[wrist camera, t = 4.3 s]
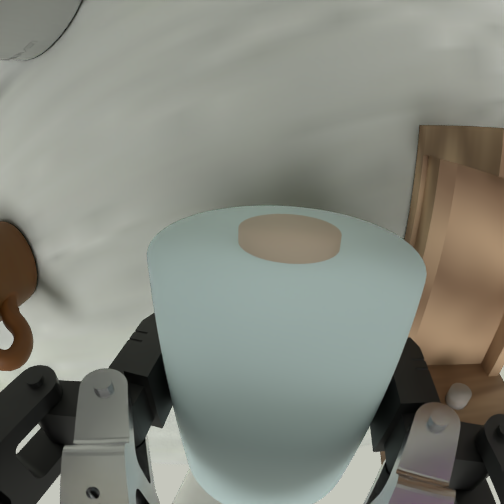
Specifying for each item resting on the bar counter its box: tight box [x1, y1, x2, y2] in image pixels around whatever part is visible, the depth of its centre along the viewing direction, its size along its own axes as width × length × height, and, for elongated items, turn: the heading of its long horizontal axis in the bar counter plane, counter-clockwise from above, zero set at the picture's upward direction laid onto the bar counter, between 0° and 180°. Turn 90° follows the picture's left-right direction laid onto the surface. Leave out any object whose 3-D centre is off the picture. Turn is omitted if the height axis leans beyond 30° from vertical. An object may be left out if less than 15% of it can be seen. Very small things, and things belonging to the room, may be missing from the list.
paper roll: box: [147, 205, 427, 504], centre depth 8 cm, size 9×6×6 cm
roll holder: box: [380, 125, 504, 464], centre depth 12 cm, size 16×10×8 cm, turn 178°
